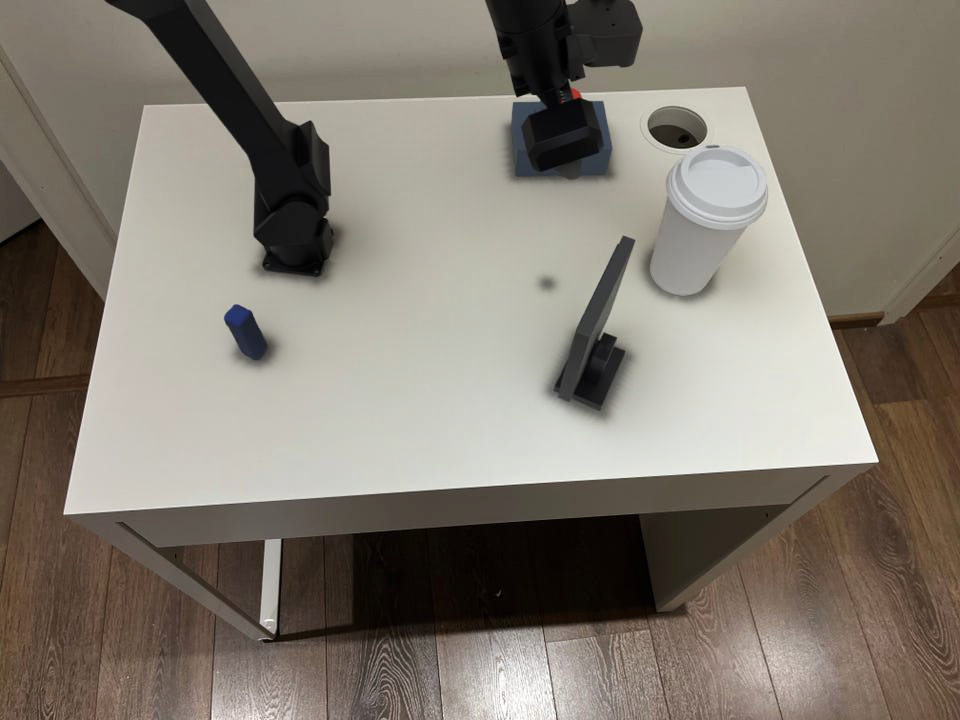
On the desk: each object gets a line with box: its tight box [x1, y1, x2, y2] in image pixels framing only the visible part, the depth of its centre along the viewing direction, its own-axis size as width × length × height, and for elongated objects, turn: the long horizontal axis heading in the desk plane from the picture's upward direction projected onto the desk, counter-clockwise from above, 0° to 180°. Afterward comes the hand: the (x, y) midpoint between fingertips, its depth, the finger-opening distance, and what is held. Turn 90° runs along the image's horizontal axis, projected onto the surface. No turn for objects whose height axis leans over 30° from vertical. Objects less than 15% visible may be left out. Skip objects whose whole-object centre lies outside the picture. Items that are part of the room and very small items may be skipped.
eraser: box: [223, 303, 268, 361], centre depth 68 cm, size 2×2×7 cm
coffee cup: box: [649, 143, 769, 297], centre depth 71 cm, size 10×10×15 cm
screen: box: [557, 234, 636, 403], centre depth 63 cm, size 1×11×12 cm, turn 155°
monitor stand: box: [553, 331, 627, 411], centre depth 68 cm, size 5×7×6 cm
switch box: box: [510, 99, 613, 177], centre depth 83 cm, size 11×8×6 cm
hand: (565, 142), depth 69 cm, fingers open, 9 cm apart
